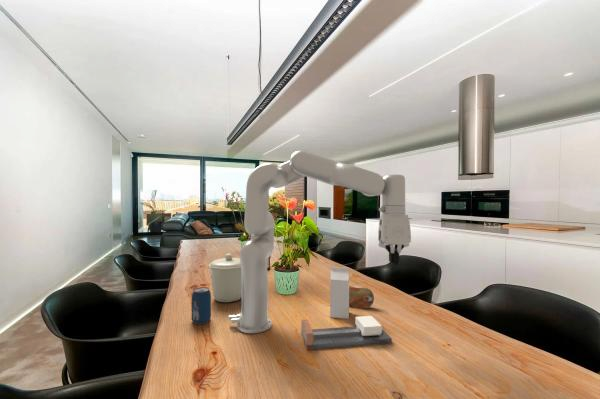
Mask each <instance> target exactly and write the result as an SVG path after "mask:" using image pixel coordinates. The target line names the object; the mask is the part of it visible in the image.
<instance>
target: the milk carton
mask: <svg viewBox="0 0 600 399" xmlns="http://www.w3.org/2000/svg"><path fill="white" fill-rule="evenodd" d="M329 280H330V284H329V287H330V288H329V290H330V291H329V295H330V298H329V302H330V303H329V305H330V306H329V307H330V308H329V312H330V313H329V317H330V318H335V319H337V318H338V319H346V320H347V319H349V317H350V316H349V313H350V306H349V286H350V268H349V267H334V266H331V268H330V278H329Z"/></svg>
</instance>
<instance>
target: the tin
mask: <svg viewBox="0 0 600 399" xmlns="http://www.w3.org/2000/svg"><path fill="white" fill-rule="evenodd" d="M374 300H375V295H374V293H373V292H372V290H371V289H369V288H368V287H361V286H352V285H349V307H350V308H351V307H353V308H361V309H368V308H370V307H372V306H373V304H374V302H375V301H374Z"/></svg>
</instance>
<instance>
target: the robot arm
mask: <svg viewBox="0 0 600 399" xmlns="http://www.w3.org/2000/svg"><path fill="white" fill-rule="evenodd" d="M305 177H306V178H310V179H313V180H316V181H318V182H322V183H324V184H327V185H331V186H339V187H344V188H346V189H351V190H352V191H353V190H354V191H356V192H359V193H362V195H364V196H367V197H375V196H382V197H381V198H382V199H381V200H382V202H381V203H382V204H381V207H378V211H379V212H381V214H380V216H379V221H378V230H377V231H378V233H377V234H378V235H377V236H378V237H377V239H378V242H379V243H378V247H380V248H383V249H385V250H386V251H387V252H388V262H389V263H390V264H391V265H393V266H396V265H397V266H399V265H400V264H399V263H400V253H402V250H403V249H404V248H408V247H410V243H411V242H412V234H411V232H412V231H411V222H410V219H409V215H408V214H406V177H405V176H404V175H403V174H386V175H384V176H382V175H380V174H379V173H377V172H373V171H370V170H368V169H366V168H362V167H358V166H355V165H352V164H347V163H344V162H340V161H337V160H334V159H331V158H329V157H325V156H321V155H319V154H316V153H312V152H308V151H306V150H296V151H294V152H293V153H292V154H291V156H290V159H289V160H288V161H286V162H283V163H281V164H277V163H273V162H266V163H262V164H260V165H258V166H257V167H256V168H254V169H253V170H252V171H251V173H250V174H249V175H248V178H247V182H246V185H245V186H246V188H245V189H246V191H245V206H244V220H243V226H244V230H245V232H246V233H247V234H248V235H250V240H248V241H246V242H245V243H244V244H243V245H242V246H241V249H240V252H239V258H240V264H241V284H242V287H241V298H240V299H241V304H240V305H241V308H240V309H241V310H240V313H238V314H236V315H235V314H228V321H229V322H231V324H233V323H236V329H237V330H238V331H239V332H242V333H245V334H261V333H264V332H265V331H268V330H269V329H271V327H272V326H273V324H272V323H273V322H272V320H271V318H269V317H268V313H269V312H268V308H269V307H268V306H269V305H268V304H269V303H268V301H269V300H268V298H269V297H268V294H269V293H268V292H269V291H268V290H269V288H268V287H269V285H268V284H269V280H268V279H269V278H268V276H269V274H268V266H267V265H268V264H267V260H268V259H269V258H270V257H271V256H272V254H273V251H274V242H275V218H274V216H273V214H272V212H270V211H269V209H270V208H269V207H270V206H269V205H270V194H269V192H270V189H271V188H275V189H280V188H283V187H285V186H287V185H290V184H293V183H294V182H297V181H299V180H301V179H303V178H305Z"/></svg>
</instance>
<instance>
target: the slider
mask: <svg viewBox="0 0 600 399" xmlns="http://www.w3.org/2000/svg"><path fill="white" fill-rule="evenodd" d="M354 319H355V322H354V323H355V325H356V326H357V329H360V330H361V335H362V336H373V335H380V334H382V329H383V327H382V325H381V324H380V323H379V322H378V320H376V319H375V317H373V316H372V315H363V316H355V318H354Z"/></svg>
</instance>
